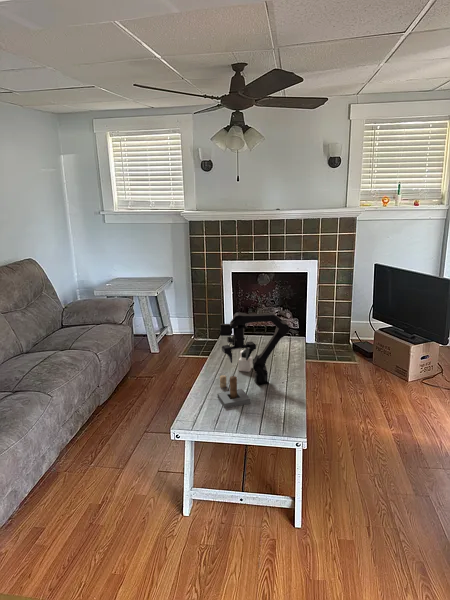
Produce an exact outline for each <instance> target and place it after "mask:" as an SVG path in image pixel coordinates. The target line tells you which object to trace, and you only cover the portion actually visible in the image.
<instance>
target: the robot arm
mask: <svg viewBox="0 0 450 600" xmlns="http://www.w3.org/2000/svg"><path fill="white" fill-rule="evenodd" d="M263 322H264V323H266V322H271V323H272V324H273V325H275V327H276V328H275V330H274V334H273V335H272V336H271V337H270V339H269V341H268V343H267V344H266V346H265V347H264V348H263V350H262V351H261V353H260V354H259V355H258V354H255V356H254V357H253V358H252V368H253V370H254V372H255V374H254V382H255V383H256V384H257V385H258V386H262V385H268V384H270V382H269V380H268V377H269V376H268V369H267V366H266V364H267V360H268V358H269V357H270V355H271V354H272V352H273V350H275V348H276V346H277V345H278V343H279V342H280V340H281V339H283V338H284V337H285V336H286V335H287V334H288V333H289V332H290V330H291V329H290V326H289V324H288V322H287V321H286V320H282V318H280V317H279V316H277V314H276V313H274V312H270V313H269V312H268V313H266V312H265V313H252V314H251V313H246V312H240V311H238V312H235V313H234V314H233V318H232V320H231V321H230V322H229V323H220V330H219V333H220V334H219V335H220V337H227V339H226V341H227V343H228V344H224V345H222V346H221V351H222V352H223V353H224V354H226V355H227V357H228V359H229V362H230V363H231V364H233V351H234V350H243V349H245V350H246V361H247V360H248V358H249V356H250V357H251V354H252V352H254V351H255V350H256V349H257V344H256V343H255V342H253V341H246V342H245V339H246V338H245V329H248V325H247V324H249V323H263ZM232 335H233V336H232ZM231 336H232V337H231ZM229 344H230V345H232V346H230V345H229Z"/></svg>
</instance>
